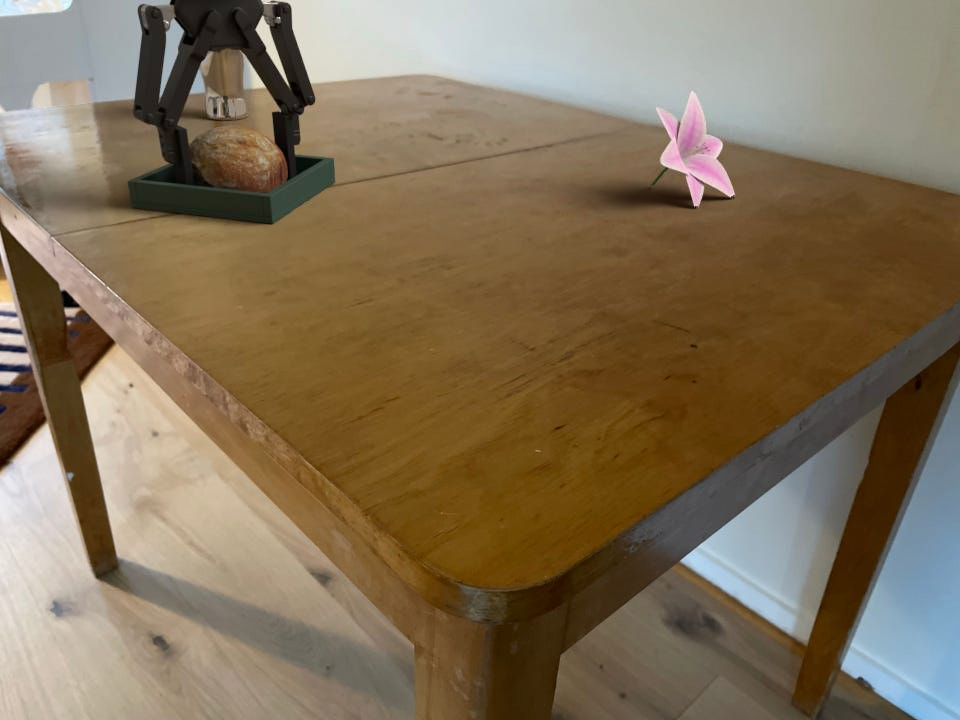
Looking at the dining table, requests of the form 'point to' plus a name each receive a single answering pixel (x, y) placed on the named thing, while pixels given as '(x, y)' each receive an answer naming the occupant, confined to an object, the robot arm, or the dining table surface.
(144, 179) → the dark green square tray
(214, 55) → the beer glass
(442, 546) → the dining table surface
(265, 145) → the bread roll
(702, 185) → the lily
